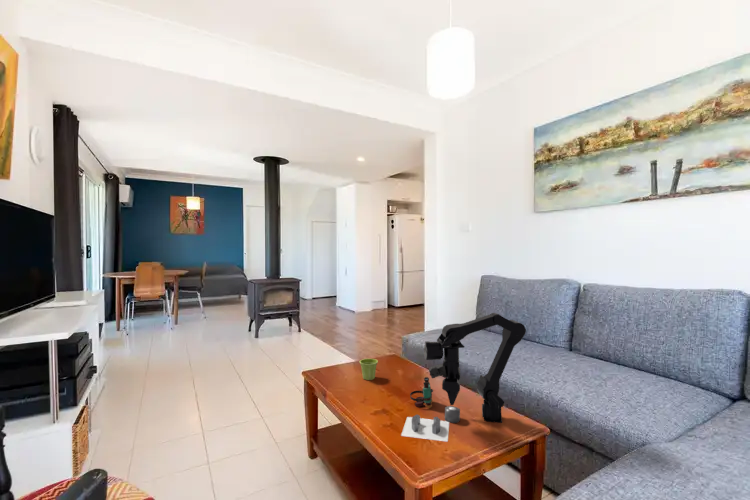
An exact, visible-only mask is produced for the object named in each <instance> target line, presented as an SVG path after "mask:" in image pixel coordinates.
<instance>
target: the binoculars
mask: <svg viewBox="0 0 750 500" xmlns="http://www.w3.org/2000/svg"><path fill="white" fill-rule="evenodd" d="M433 392H434V389H433V388H431V383H430V377H428V376H426V377H424V378H423V387H422V390H413V391H411V392H410V393H409V396H410V400H412V401H414V402H415V403H414V407H416V408H419V407H425V408H427V409H431V408H433V404H432V403H433ZM414 394H422V395H423V396H422V395H421V396H419V395H418V396H416V397H415V398H414V397H413V396H412V395H414Z"/></svg>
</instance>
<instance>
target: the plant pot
mask: <svg viewBox="0 0 750 500" xmlns="http://www.w3.org/2000/svg"><path fill="white" fill-rule="evenodd" d="M378 361H379V360H378V359H376V358H363V359H361V360H359V364H360V367H361V374H362V379H363V380H367V381H373V380H374V379H375V378H376V369H377V365H378V363H379V362H378Z"/></svg>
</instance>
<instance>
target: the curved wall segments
mask: <svg viewBox="0 0 750 500" xmlns="http://www.w3.org/2000/svg"><path fill="white" fill-rule="evenodd" d="M411 417H412V430H413V431H414V432H418V425H419V424H420V418H421V415H419V414H415V415H413V416H411ZM433 420H434V424H432V433H433V434H435V435H436V434H438V433H439V432H440V421H441V419H440V418H439V417H438V416H433Z"/></svg>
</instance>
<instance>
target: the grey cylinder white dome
mask: <svg viewBox="0 0 750 500" xmlns="http://www.w3.org/2000/svg"><path fill="white" fill-rule="evenodd" d="M444 421H447V422H449V424H450V423H452V424H457V423H459V422H460V421H461V409H460V408H459V407H456V406H454V405H448V406H445V407H444Z"/></svg>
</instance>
